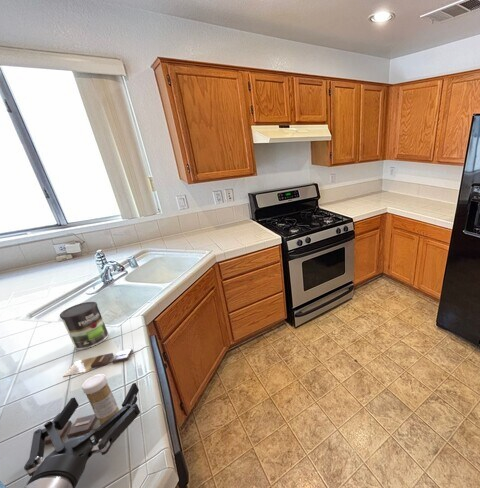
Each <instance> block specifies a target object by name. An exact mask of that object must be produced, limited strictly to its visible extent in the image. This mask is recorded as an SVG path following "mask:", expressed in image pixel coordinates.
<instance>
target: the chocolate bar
mask: <svg viewBox="0 0 480 488" xmlns="http://www.w3.org/2000/svg"><path fill="white" fill-rule="evenodd" d="M133 352H134V350H133V348H129V349H123V350H119V351H117V352H116V353H115V355H114V353H113V352H109V353H106V354H100V355H97V356H93V357H88V358H82V359H79V360H75V362H74V363H72V365H71V366H70V367H69V369H67V371H66V372H65V373H64V375H63V376H62V378H64V377H65V378H66V377H69V376H74V375H79V374H83V373H88V372H90V370H91V369H93V368H94V369H95V368H98V367H102V366H108V365H109V363H110V362H112V364H117V363H121V362H126V361H129V359H130V358H131V355H132V354H133Z"/></svg>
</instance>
